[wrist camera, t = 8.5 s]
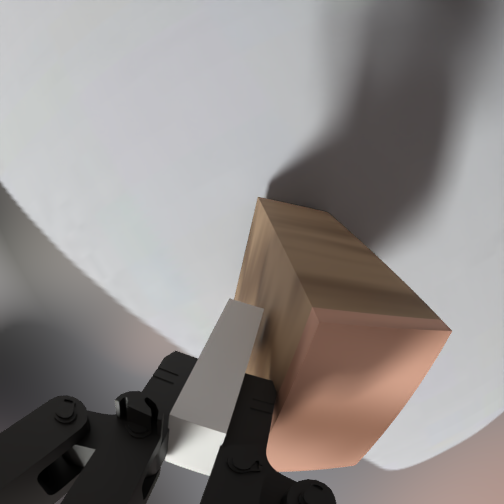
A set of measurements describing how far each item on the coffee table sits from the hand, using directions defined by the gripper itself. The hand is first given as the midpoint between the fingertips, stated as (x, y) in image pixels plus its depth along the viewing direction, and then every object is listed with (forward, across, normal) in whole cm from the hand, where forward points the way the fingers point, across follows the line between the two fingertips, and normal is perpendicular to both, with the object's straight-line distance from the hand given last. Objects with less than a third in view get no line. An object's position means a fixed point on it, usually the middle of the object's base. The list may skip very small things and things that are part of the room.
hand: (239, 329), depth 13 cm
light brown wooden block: (+10, +1, 0) cm, 10 cm away
